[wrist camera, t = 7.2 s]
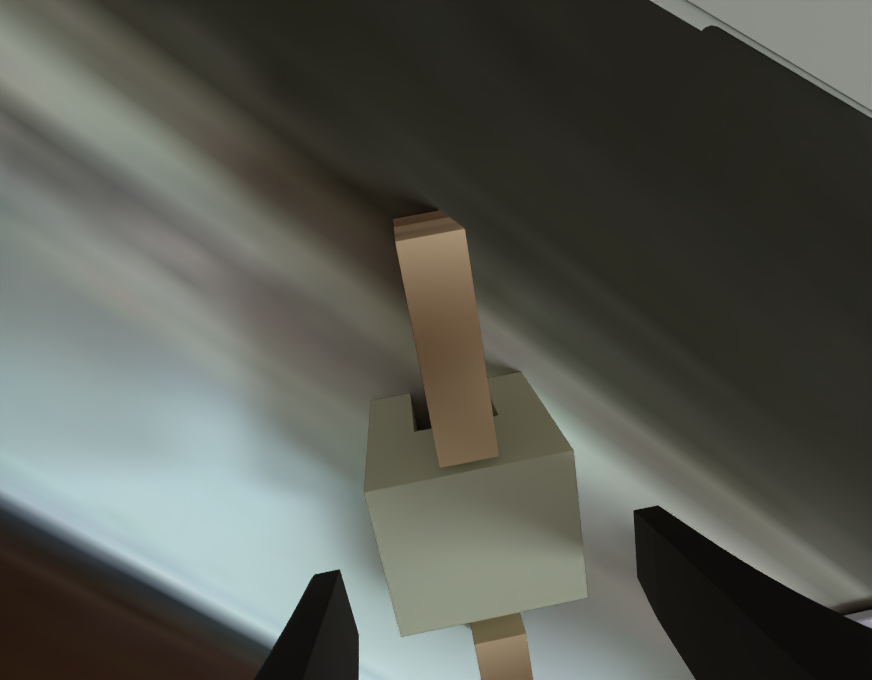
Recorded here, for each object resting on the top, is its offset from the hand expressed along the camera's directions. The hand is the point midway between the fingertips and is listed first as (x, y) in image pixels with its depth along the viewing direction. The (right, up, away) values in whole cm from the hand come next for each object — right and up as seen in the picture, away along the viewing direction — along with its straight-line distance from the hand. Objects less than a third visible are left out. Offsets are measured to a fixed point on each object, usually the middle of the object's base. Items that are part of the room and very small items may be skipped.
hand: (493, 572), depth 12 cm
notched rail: (-1, +2, +5) cm, 6 cm away
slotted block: (-1, +2, +5) cm, 6 cm away
